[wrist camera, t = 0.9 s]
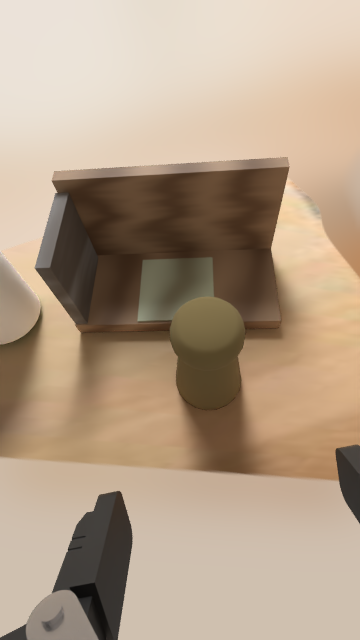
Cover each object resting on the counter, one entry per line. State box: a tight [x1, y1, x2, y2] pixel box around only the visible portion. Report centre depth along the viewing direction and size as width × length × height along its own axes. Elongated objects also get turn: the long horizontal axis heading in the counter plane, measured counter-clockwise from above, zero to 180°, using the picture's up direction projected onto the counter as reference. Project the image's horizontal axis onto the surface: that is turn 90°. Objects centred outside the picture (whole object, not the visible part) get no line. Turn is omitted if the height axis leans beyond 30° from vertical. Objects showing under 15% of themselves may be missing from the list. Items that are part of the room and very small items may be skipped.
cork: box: [170, 296, 246, 410], centre depth 27 cm, size 6×6×11 cm
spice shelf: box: [35, 157, 289, 332], centre depth 32 cm, size 20×10×12 cm, turn 89°
